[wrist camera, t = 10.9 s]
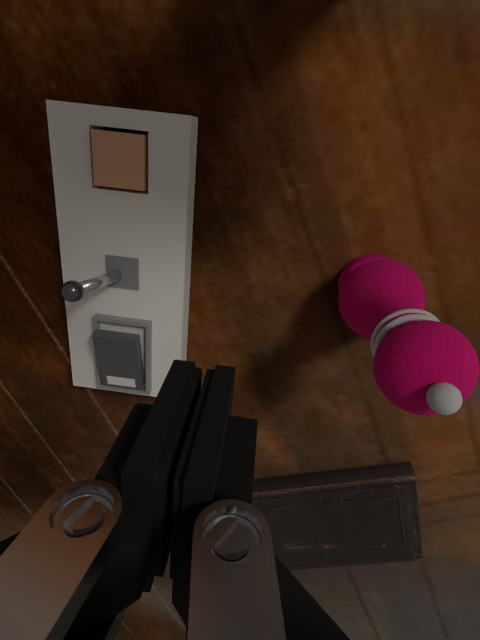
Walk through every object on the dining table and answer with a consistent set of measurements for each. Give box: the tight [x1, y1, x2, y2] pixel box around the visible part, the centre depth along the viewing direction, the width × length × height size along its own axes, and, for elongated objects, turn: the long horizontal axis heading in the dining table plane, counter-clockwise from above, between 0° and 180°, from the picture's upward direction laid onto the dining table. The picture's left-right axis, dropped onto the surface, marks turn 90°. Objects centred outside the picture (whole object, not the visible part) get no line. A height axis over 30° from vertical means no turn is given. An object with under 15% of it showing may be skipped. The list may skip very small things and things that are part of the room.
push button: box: [91, 129, 148, 191], centre depth 34 cm, size 4×4×3 cm
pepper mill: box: [338, 253, 480, 415], centre depth 30 cm, size 7×7×20 cm
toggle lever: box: [61, 269, 124, 302], centre depth 34 cm, size 2×2×7 cm
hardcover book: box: [252, 462, 423, 570], centre depth 52 cm, size 16×23×2 cm
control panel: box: [46, 100, 198, 397], centre depth 38 cm, size 28×12×4 cm, turn 174°
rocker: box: [92, 329, 145, 390], centre depth 40 cm, size 7×4×1 cm, turn 175°
